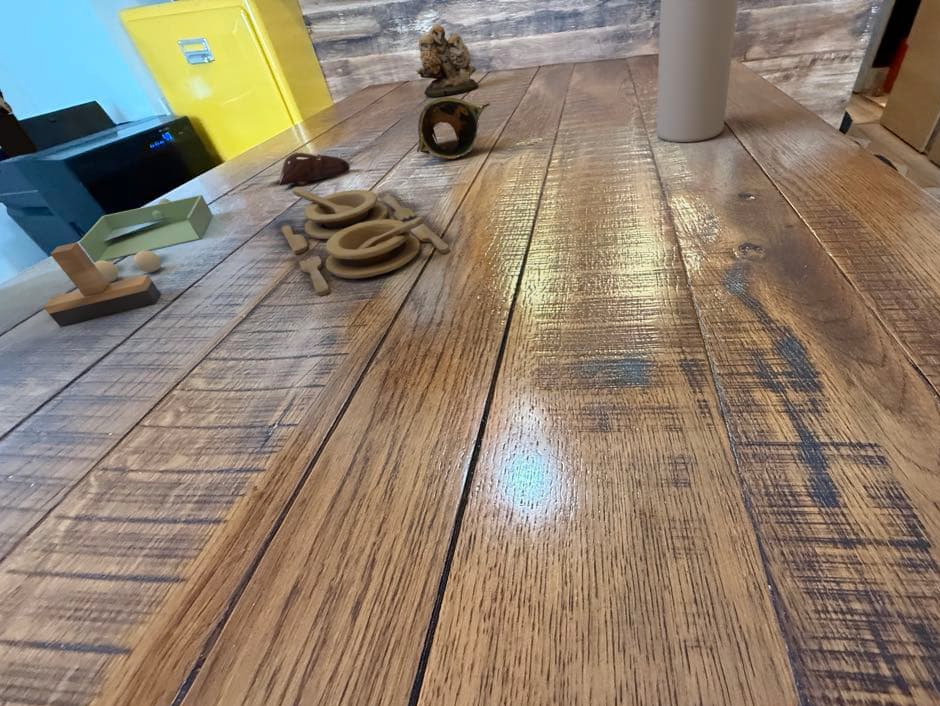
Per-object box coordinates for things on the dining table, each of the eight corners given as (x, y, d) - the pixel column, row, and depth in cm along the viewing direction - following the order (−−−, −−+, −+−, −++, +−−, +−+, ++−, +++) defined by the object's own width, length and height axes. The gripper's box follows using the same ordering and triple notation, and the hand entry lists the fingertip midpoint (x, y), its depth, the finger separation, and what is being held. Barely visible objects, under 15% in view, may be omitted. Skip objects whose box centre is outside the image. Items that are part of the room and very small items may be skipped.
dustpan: (201, 238, 87) (189, 217, 84) (94, 263, 84) (78, 242, 81) (218, 202, 101) (207, 183, 98) (126, 222, 98) (113, 203, 96)
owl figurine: (428, 100, 152) (411, 30, 141) (418, 95, 161) (402, 29, 149) (483, 88, 157) (472, 19, 145) (471, 83, 165) (460, 18, 154)
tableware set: (281, 231, 85) (264, 194, 81) (393, 197, 91) (382, 162, 87) (318, 301, 65) (298, 257, 61) (458, 252, 71) (448, 209, 67)
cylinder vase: (647, 131, 103) (650, -30, 87) (706, 120, 104) (721, -41, 87) (670, 147, 94) (679, -30, 77) (734, 135, 95) (757, -42, 78)
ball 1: (103, 288, 76) (88, 268, 74) (97, 283, 78) (82, 263, 75) (126, 279, 77) (112, 259, 75) (120, 274, 79) (106, 254, 77)
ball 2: (146, 278, 77) (133, 258, 75) (140, 273, 78) (126, 253, 76) (168, 269, 78) (155, 249, 76) (161, 264, 80) (148, 245, 78)
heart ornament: (288, 199, 106) (297, 155, 108) (346, 203, 106) (353, 159, 108) (272, 178, 99) (282, 132, 102) (334, 183, 99) (343, 137, 102)
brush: (60, 326, 68) (5, 264, 62) (68, 316, 70) (15, 254, 64) (156, 303, 70) (111, 240, 64) (161, 293, 72) (118, 232, 66)
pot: (465, 88, 112) (473, 68, 96) (493, 138, 117) (505, 127, 100) (400, 131, 112) (397, 119, 96) (430, 180, 117) (432, 176, 101)
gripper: (-137, -29, 51) (4, 153, 62) (-288, -34, 38) (-77, 196, 50) (-52, -41, 52) (70, 140, 64) (-172, -49, 40) (8, 178, 51)
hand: (5, 164), depth 57 cm, fingers open, 9 cm apart
